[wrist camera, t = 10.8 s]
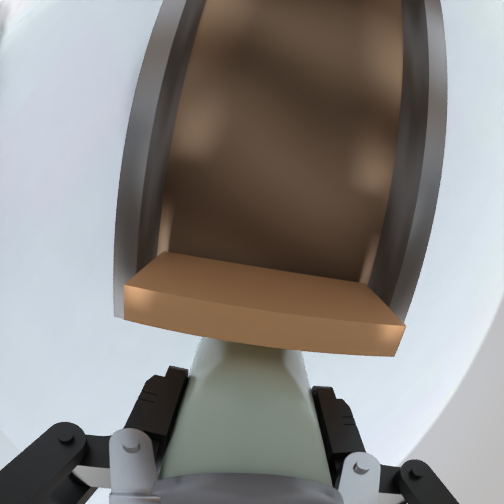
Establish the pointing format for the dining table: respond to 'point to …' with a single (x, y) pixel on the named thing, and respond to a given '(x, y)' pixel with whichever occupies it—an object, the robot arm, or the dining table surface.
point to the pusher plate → (261, 307)
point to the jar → (246, 431)
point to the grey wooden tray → (287, 140)
